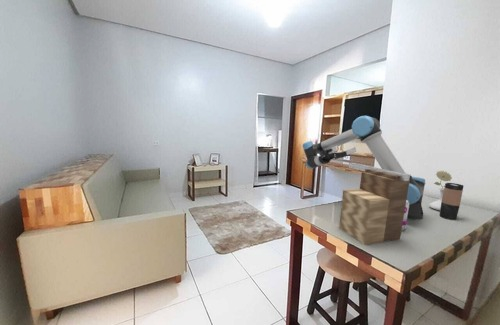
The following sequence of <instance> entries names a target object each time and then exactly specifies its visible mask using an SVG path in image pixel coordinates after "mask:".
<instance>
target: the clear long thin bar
mask: <svg viewBox="0 0 500 325" xmlns="http://www.w3.org/2000/svg"><path fill="white" fill-rule="evenodd" d="M348 168H349V169H354V170H357V171H361V172H365V169H369V170H374V171H378V172H382V173H386V174H391V175H395V176H399V178H398V180H402V181H409V178H410V175H411V174H410V175H409V173H407V174H404V173H399V172H394V171H390V170H385V169H382V168H381V167H380V168H378V167H376V166H375V167H374V166H370V165H365V164H361V163H357V162H349V163H348Z"/></svg>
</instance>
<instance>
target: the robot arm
mask: <svg viewBox="0 0 500 325" xmlns="http://www.w3.org/2000/svg"><path fill="white" fill-rule="evenodd" d="M382 134H383V131H382V129H381V124H380V121H379V120H378V119H377V118H375V117H371V116H369V115H361V116H359V117H356V119H355V120H353V122H352V123H351V129H348V130H346V131H343V132H341V133H339V134H337V135H334V136H332V137H329V138H327V139H326V140H323V141H321V142H318V143H313V141H311V140H309V141H306V142H303V143H302V148H303V153H304V154H305V157H306V161H305V166H306V168H308V169H310V170H311V169H312V170H313V169H315V168H318V167H323V165H326V164H328V163H330V162H331V160H333V159H334V160H338V159H341V158H346V157H350V156H351V155H352V154H354V153H356V152H357V149H356V147H352V148H349V149H346V150H345V151H341V152H337V151H338V147H339V146H342V145H345V144H347V143H350V142H353V141H355V140H358V139H359V141H360V142H361V143H364V144H366V146H367V147H368V149H369V151H370V153H371V154H372V156H373V157H374V158H375V160H376V162H377V163H378V166H379V167H380V169H385V170H390V171H394V172H399V173H404V174H409V173H407V172H406V171H405V170H404V168H403V167H402V165H401V164H400V162H399V160H397V157H396V156H395V154H393V151H391V149H390V147H389V146H388V144H387V143H386V142H385V139H384V138H383V137H382ZM409 175H410V178H409V179H410V181H409V187H408V193H407V200H408V202H409V209H408V215H407V219H412V220H423V218H424V210H423V205H422V202H423V197H424V191H425V185H426V179H425V178H422V177H418V176H412V175H411V174H409Z"/></svg>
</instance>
